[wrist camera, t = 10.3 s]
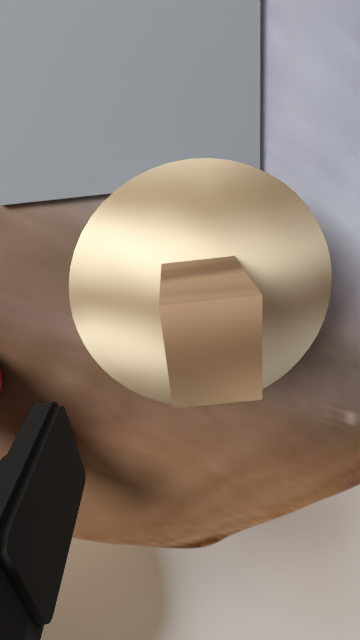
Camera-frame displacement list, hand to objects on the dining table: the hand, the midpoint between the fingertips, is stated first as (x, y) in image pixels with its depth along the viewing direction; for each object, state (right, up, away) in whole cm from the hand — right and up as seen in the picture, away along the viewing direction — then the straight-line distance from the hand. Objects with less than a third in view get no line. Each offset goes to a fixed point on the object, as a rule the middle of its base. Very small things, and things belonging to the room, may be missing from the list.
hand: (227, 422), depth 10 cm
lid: (0, +5, +11) cm, 12 cm away
